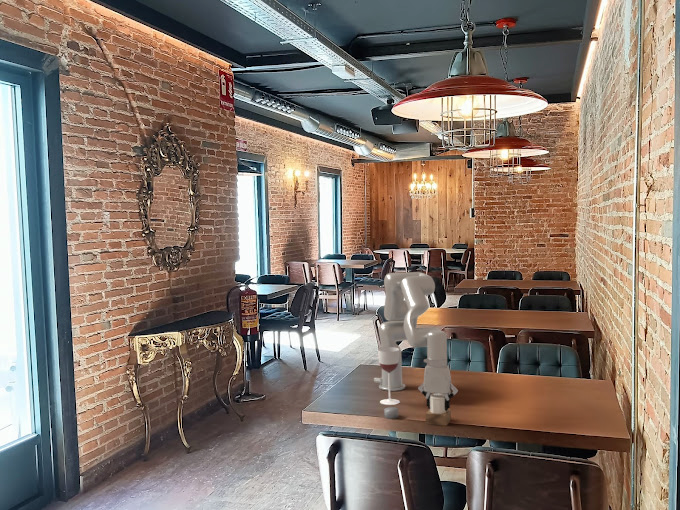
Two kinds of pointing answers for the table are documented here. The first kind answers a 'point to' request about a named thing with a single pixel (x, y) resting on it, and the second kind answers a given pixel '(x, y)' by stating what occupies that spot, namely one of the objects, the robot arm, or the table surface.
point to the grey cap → (391, 413)
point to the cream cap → (437, 403)
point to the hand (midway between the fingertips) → (438, 408)
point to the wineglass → (388, 367)
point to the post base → (438, 418)
